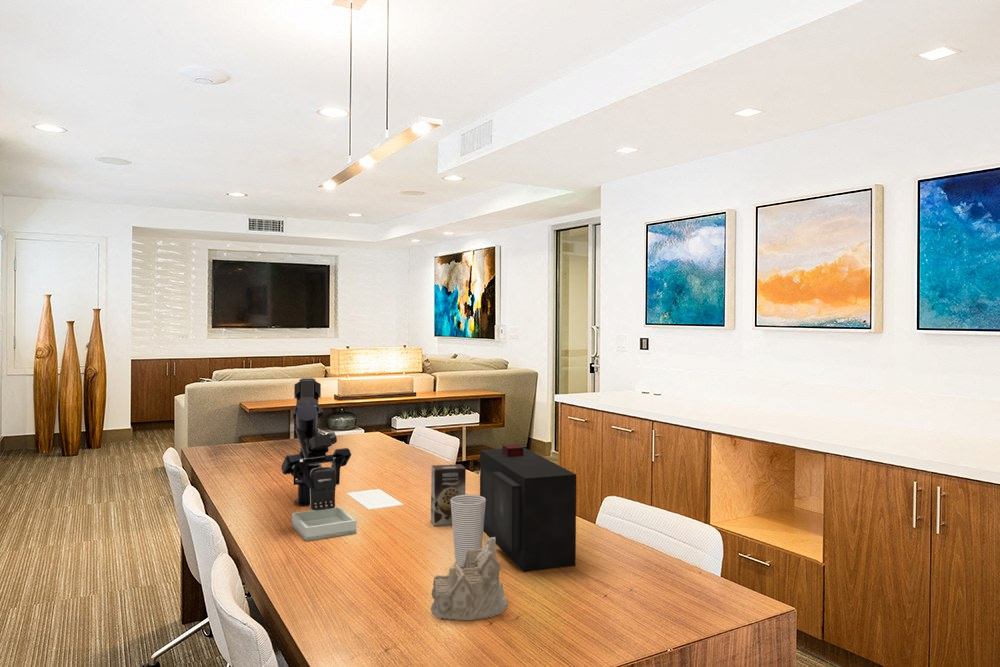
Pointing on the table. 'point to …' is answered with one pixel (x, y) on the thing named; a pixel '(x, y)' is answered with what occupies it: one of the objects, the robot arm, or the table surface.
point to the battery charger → (322, 488)
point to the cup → (467, 524)
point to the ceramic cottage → (470, 587)
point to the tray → (323, 523)
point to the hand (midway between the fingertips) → (325, 486)
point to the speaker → (529, 507)
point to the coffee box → (445, 491)
